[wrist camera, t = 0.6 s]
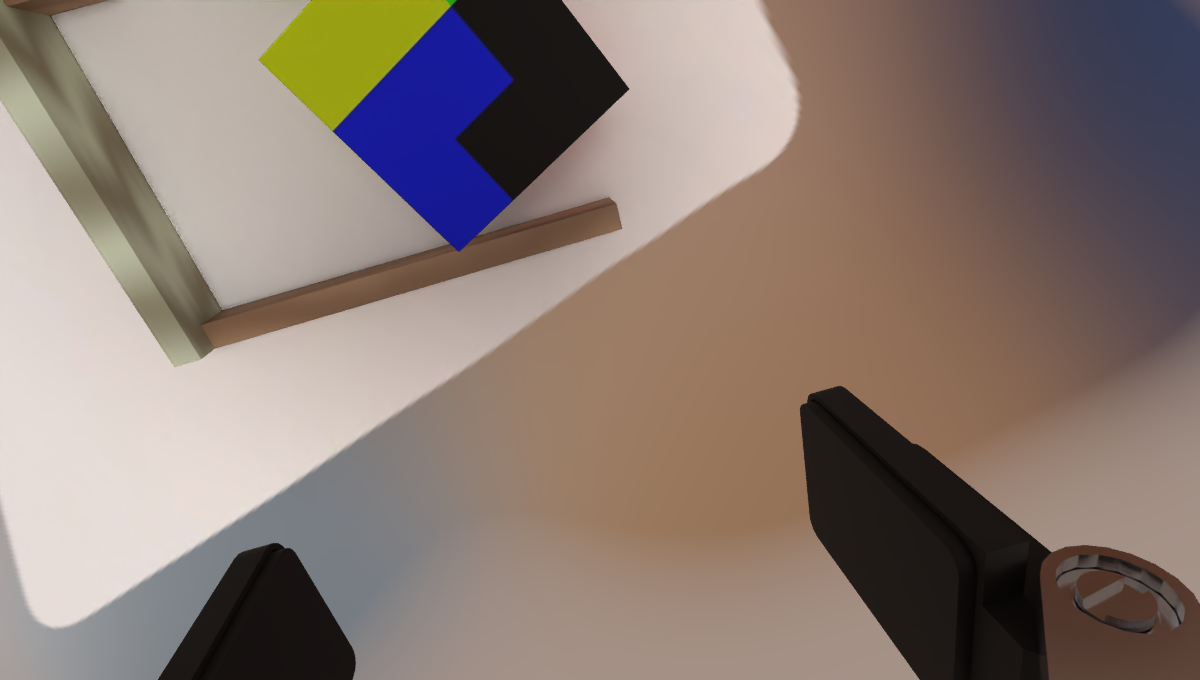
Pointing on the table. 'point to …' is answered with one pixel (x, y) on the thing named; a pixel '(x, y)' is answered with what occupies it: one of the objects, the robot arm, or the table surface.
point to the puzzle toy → (448, 95)
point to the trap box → (147, 238)
